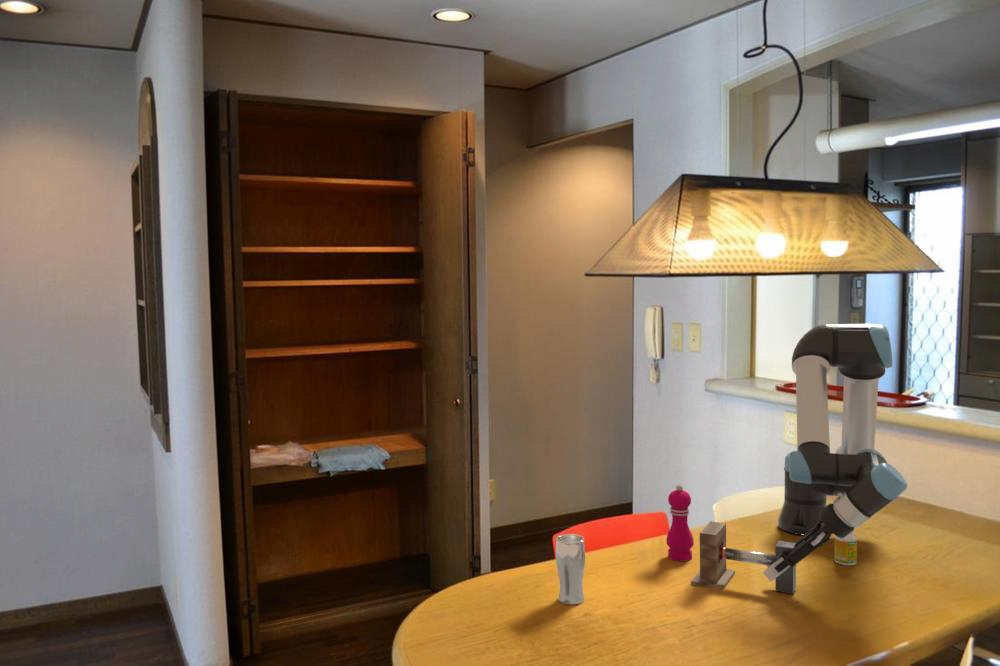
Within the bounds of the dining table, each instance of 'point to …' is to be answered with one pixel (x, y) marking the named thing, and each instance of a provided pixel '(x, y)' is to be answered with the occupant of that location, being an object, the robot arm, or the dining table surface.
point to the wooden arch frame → (713, 558)
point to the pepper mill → (679, 526)
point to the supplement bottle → (846, 549)
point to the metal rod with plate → (767, 563)
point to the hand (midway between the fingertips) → (769, 573)
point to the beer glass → (570, 567)
